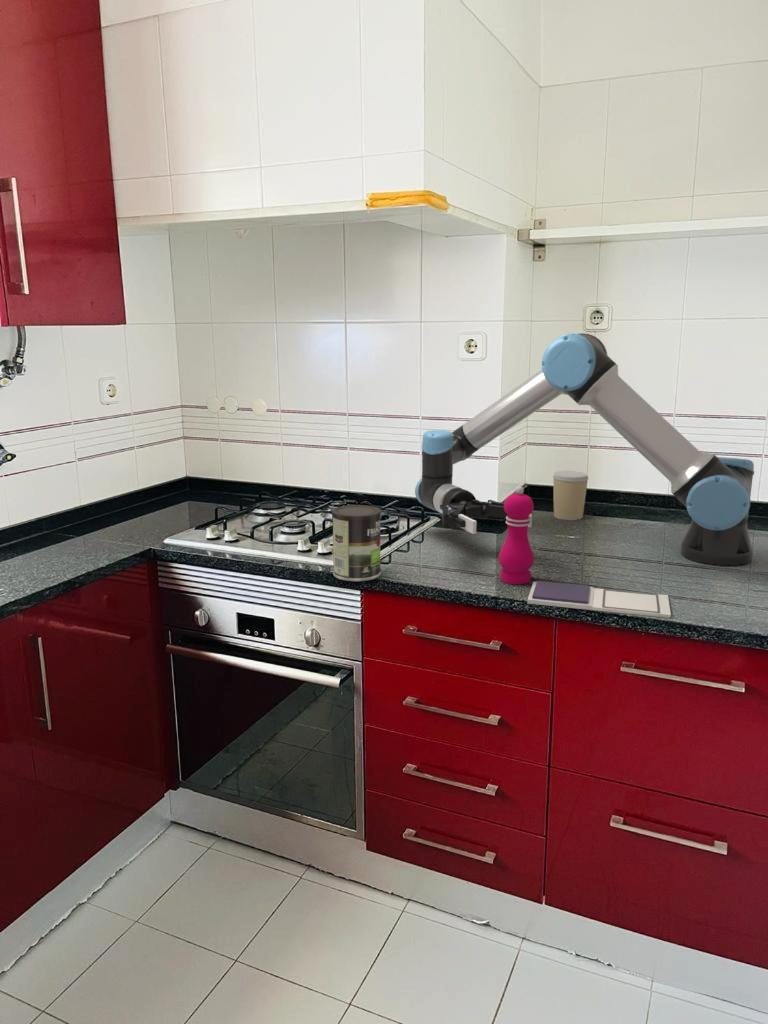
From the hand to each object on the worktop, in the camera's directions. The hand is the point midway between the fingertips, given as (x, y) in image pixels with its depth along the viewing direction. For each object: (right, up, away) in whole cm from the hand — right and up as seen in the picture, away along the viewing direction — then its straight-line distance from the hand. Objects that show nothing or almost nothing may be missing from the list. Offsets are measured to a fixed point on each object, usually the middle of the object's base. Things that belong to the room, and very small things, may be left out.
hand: (503, 524), depth 166 cm
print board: (+22, -15, -15) cm, 31 cm away
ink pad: (+10, -14, -12) cm, 21 cm away
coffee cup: (+26, +1, +51) cm, 57 cm away
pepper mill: (+2, -12, -1) cm, 12 cm away
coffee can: (-31, -11, +2) cm, 33 cm away
